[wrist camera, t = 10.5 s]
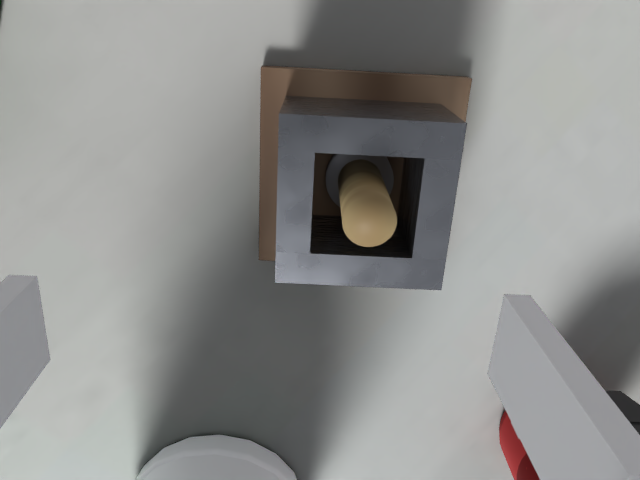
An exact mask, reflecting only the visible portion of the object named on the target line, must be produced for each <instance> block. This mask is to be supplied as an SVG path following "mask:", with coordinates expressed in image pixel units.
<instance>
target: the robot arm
mask: <svg viewBox="0 0 640 480" xmlns="http://www.w3.org/2000/svg"><path fill="white" fill-rule="evenodd" d="M49 361H50V354H49V348H48V341H47V335H46V329H45V322H44V316H43V310H42V304H41V297H40V291H39V285H38V278H37V276H22V275H8V276H7V277H6V278H5V279H4V280H3V281H2V282H0V428H1V427H2V426H3V424H4V423H5V421H6V420H7V419H8V417H9V416H10V415H11V413H12V412H13V410H14V409H15V408H16V406H17V405H18V403H19V402H20V401H21V399H22V398H23V397H24V395H25V394H26V392H27V391H28V390H29V388H30V387H31V386H32V384H33V383H34V381H35V380H36V379H37V377H38V376H39V375H40V373H41V372H42V370H43V369H44V368H45V366H46V365H47V364H48V362H49ZM487 374H488V376H489V378H490V380H491V382H492V384H493V386H494V388H495V390H496V392H497V394H498V396H499V398H500V400H501V402H502V404H503V406H504V408H505V410H506V412H507V414H508V416H509V418H510V420H511V422H512V424H513V426H514V428H515V430H516V432H517V434H518V436H519V438H520V440H521V442H522V444H523V446H524V448H525V450H526V452H527V454H528V456H529V458H530V460H531V462H532V464H533V466H534V468H535V470H536V472H537V474H538V477H539V479H540V480H640V405H639V404H638V403H636V402H635V401H633V400H632V399H631V398H629V397H628V396H626V395H625V394H624V393H622V392H621V391H605V390H604V389H603V388H602V386H601V385H600V384H599V382H598V381H597V380H596V379H595V377H594V376H593V375H592V374H591V372H590V371H589V370H588V368H587V367H586V366H585V365H584V363H583V362H582V361H581V359H580V358H579V357H578V356H577V354H576V353H575V352H574V351H573V349H572V348H571V347H570V345H569V344H568V343H567V342H566V340H565V339H564V338H563V336H562V335H561V334H560V333H559V331H558V330H557V329H556V328H555V326H554V325H553V324H552V322H551V321H550V320H549V319H548V317H547V316H546V315H545V313H544V312H543V311H542V310H541V308H540V307H539V306H538V304H537V303H536V302H535V301H534V299H533V298H532V297H531V296H530V295H511V294H504V297H503V302H502V306H501V311H500V316H499V321H498V325H497V330H496V335H495V340H494V345H493V349H492V354H491V359H490V364H489V368H488V373H487Z"/></svg>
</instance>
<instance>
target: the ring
mask: <svg viewBox="0 0 640 480" xmlns="http://www.w3.org/2000/svg"><path fill="white" fill-rule="evenodd" d="M466 126H467V123H466V122H464V121H463V120H462V119H460V118H459V117H458V116H457V115H455V114H454V113H453V112H451V111H450V110H449V109H447V108H446V107H445V106H443V105H442V104H436V103H417V102H398V101H379V100H360V99H341V98H322V97H304V96H285V99H284V102H283V104H282V107H281V109H280V112H279V130H278V173H277V216H276V259H275V283H296V284H318V285H339V286H361V287H383V288H405V289H427V290H441V288H442V282H443V275H444V269H445V262H446V256H447V249H448V243H449V236H450V230H451V223H452V217H453V210H454V204H455V197H456V191H457V185H458V178H459V172H460V165H461V159H462V152H463V146H464V139H465V133H466ZM315 153H330V154H349V155H369V156H389V157H404V162H403V171H402V180H401V189H400V198H399V207H398V215H397V225H396V229H395V231H394V233H393V235H392V236H391V237H390V238H389V239H388V240H387V241H386V242H384V243H383V244H380V245H378V246H374V247H363V246H360V245H357V244H355V243H353V242H352V241H351V240H350V239H349V238H348V237H347V236H346V234H345V232H344V230H343V225H342V216H331V215H312V201H313V181H314V160H315Z"/></svg>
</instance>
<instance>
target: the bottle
mask: <svg viewBox="0 0 640 480" xmlns="http://www.w3.org/2000/svg"><path fill="white" fill-rule="evenodd" d="M136 480H297V478H296V475H295V473H294V472H293V471H292V470H291V468H290V467H289V466H288V465H287V464H286V463H285V462H284V461H283V460H282V459H281V458H280V457H279V456H278V455H277V454H276V453H274V452H272V451H270V450H268V449H266V448H264V447H262V446H260V445H258V444H256V443H254V442H253V441H251V440H246V439H241V438H235V437H230V436H225V435H209V436H197V437H189V438H187V439H184V440H182V441H179V442H177V443H174V444H172V445H169V446H167V447H164V448H163V449H162V450H161V451H160V452H159V453H158V454H156V455H155V456H154V457H153V458H152V459H151V460H150V461H149V462H148V463H146V464H145V465H144V467H143V468H142V470H141V472H140V473H139V475H138V477H137V478H136Z"/></svg>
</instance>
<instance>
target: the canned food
mask: <svg viewBox="0 0 640 480" xmlns="http://www.w3.org/2000/svg"><path fill="white" fill-rule="evenodd" d="M499 432H500V444H501V448H502V451H503V453H504V455H505V458H506V460H507V463H508V465H509V468H510V470H511V472H512V475H513V477H514V480H540V479H539V477H538V474H537V472H536V470H535V468H534V466H533V464H532V462H531V460H530V458H529V456H528V454H527V452H526V450H525V448H524V446H523V444H522V442H521V440H520V438H519V436H518V434H517V432H516V430H515V428H514V426H513V424H512V422H511V420H510V418H509V416H508V414H507V412H506V410H505V411H504V413H503V416H502V418H501V421H500V427H499Z"/></svg>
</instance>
